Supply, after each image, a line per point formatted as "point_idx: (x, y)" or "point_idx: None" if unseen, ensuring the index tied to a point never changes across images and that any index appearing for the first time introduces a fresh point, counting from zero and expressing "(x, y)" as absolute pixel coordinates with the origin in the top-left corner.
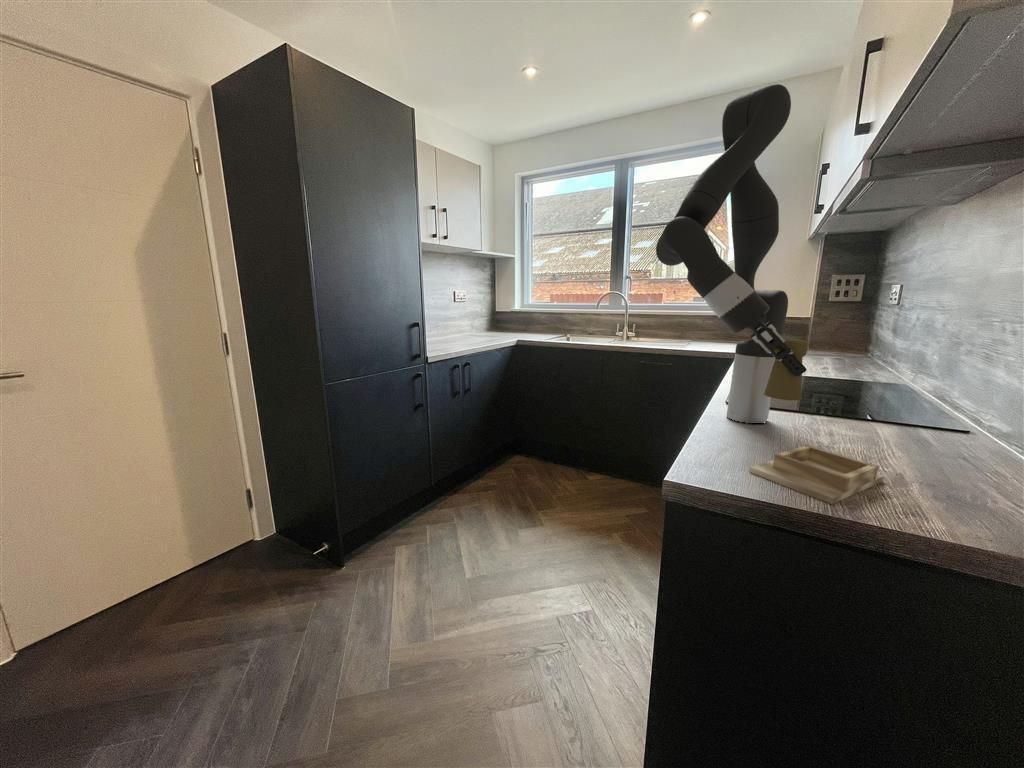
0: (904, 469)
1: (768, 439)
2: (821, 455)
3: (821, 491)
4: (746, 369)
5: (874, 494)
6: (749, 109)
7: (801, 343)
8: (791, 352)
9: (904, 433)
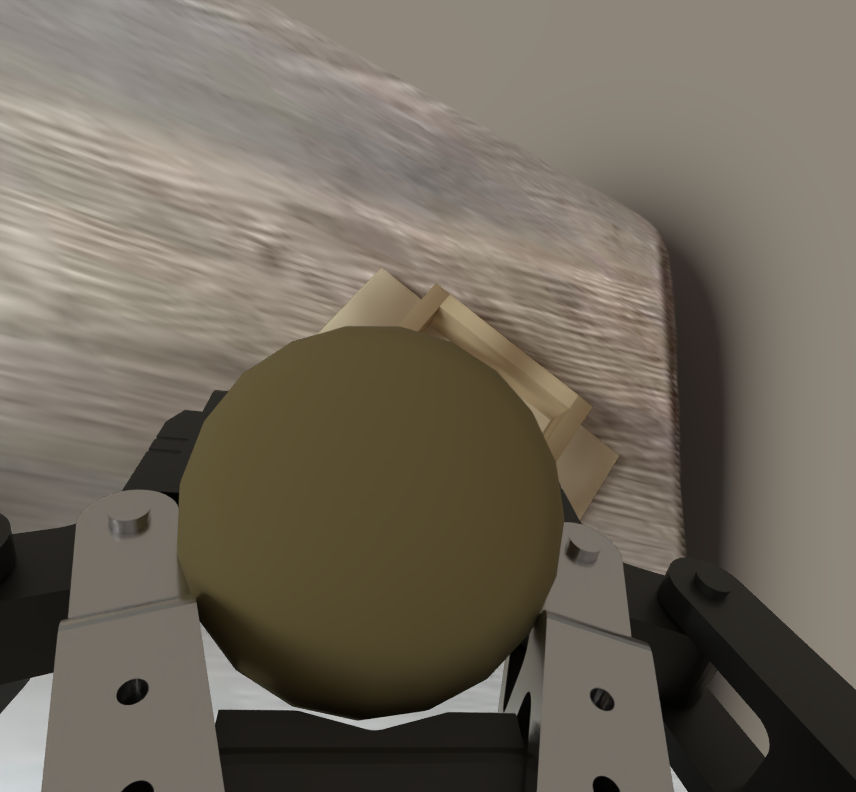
0: (242, 177)
1: (37, 524)
2: None
3: (591, 471)
4: None
5: None
6: None
7: (532, 416)
8: (605, 544)
9: None
